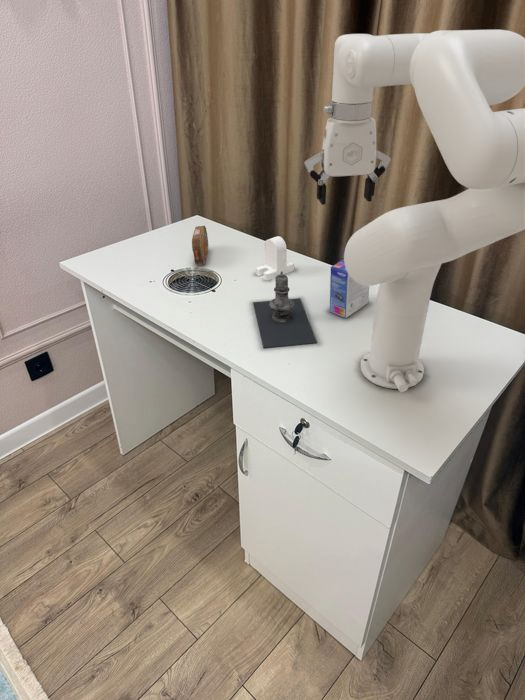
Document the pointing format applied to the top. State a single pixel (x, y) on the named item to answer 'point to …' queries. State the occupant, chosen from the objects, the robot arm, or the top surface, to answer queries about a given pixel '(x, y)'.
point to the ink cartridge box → (346, 292)
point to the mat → (283, 326)
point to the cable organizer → (274, 259)
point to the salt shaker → (281, 300)
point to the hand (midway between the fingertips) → (344, 200)
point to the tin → (200, 245)
